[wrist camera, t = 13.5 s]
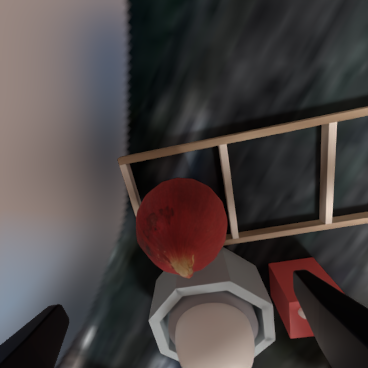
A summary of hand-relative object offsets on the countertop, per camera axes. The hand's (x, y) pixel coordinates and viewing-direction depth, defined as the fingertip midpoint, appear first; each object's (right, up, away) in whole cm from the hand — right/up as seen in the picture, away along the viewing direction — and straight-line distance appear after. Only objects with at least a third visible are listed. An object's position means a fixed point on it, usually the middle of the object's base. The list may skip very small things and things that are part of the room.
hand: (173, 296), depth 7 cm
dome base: (+5, -6, +12) cm, 14 cm away
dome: (+3, -7, +11) cm, 13 cm away
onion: (0, +3, +9) cm, 10 cm away
